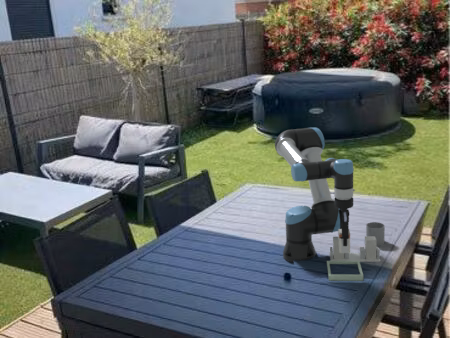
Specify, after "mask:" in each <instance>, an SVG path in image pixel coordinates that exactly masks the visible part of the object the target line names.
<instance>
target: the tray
mask: <svg viewBox="0 0 450 338" xmlns="http://www.w3.org/2000/svg"><path fill="white" fill-rule="evenodd" d="M331 265H357V269H358V272H359V274H351V273H350V274H347V273H346V274H344V273H343V274H339V273H338V274H337V273H336V274H333V273H332V271H331ZM326 267H327V276H328V282H364V273H363V269H362V265H361V262H360V261H331V260H326Z"/></svg>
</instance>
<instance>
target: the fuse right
mask: <svg viewBox="0 0 450 338" xmlns="http://www.w3.org/2000/svg"><path fill="white" fill-rule="evenodd" d="M376 247H377V245H376V238H375V236H366V235H365V236H364V249H365V257H366V259H376Z"/></svg>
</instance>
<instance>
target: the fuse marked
mask: <svg viewBox="0 0 450 338" xmlns="http://www.w3.org/2000/svg"><path fill="white" fill-rule="evenodd" d="M337 234H338V236H337V237H338V240H339V253H342V244H341V239H340V237H342V229H338V231H337ZM348 253H351V230H349V239H348Z"/></svg>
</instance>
